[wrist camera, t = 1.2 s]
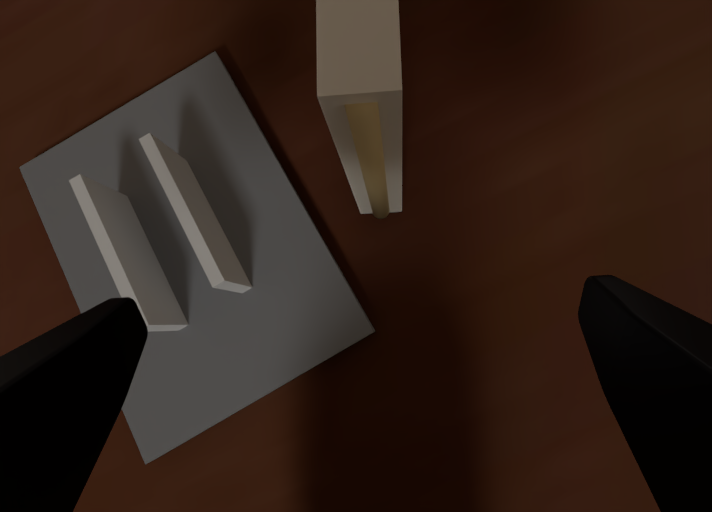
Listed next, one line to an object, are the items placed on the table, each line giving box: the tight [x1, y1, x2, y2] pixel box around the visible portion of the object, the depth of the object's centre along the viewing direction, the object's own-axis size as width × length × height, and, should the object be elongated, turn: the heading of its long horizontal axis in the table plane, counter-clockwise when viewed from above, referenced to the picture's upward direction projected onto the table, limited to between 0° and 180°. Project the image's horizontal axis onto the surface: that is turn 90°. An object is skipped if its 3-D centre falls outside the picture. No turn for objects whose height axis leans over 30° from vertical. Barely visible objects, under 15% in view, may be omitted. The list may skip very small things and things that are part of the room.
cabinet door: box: [316, 0, 402, 219], centre depth 17 cm, size 6×2×12 cm, turn 2°
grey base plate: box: [19, 52, 375, 464], centre depth 21 cm, size 18×13×4 cm
